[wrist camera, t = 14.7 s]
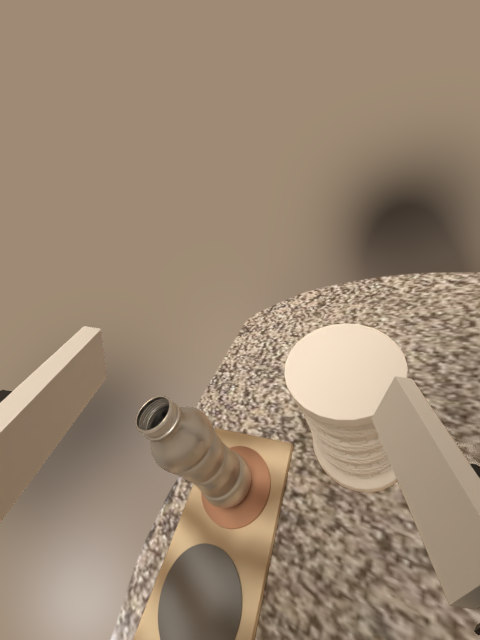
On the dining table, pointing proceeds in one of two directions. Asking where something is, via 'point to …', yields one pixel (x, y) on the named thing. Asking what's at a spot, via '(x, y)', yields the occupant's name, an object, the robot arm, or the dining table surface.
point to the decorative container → (346, 399)
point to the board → (221, 554)
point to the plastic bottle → (194, 451)
